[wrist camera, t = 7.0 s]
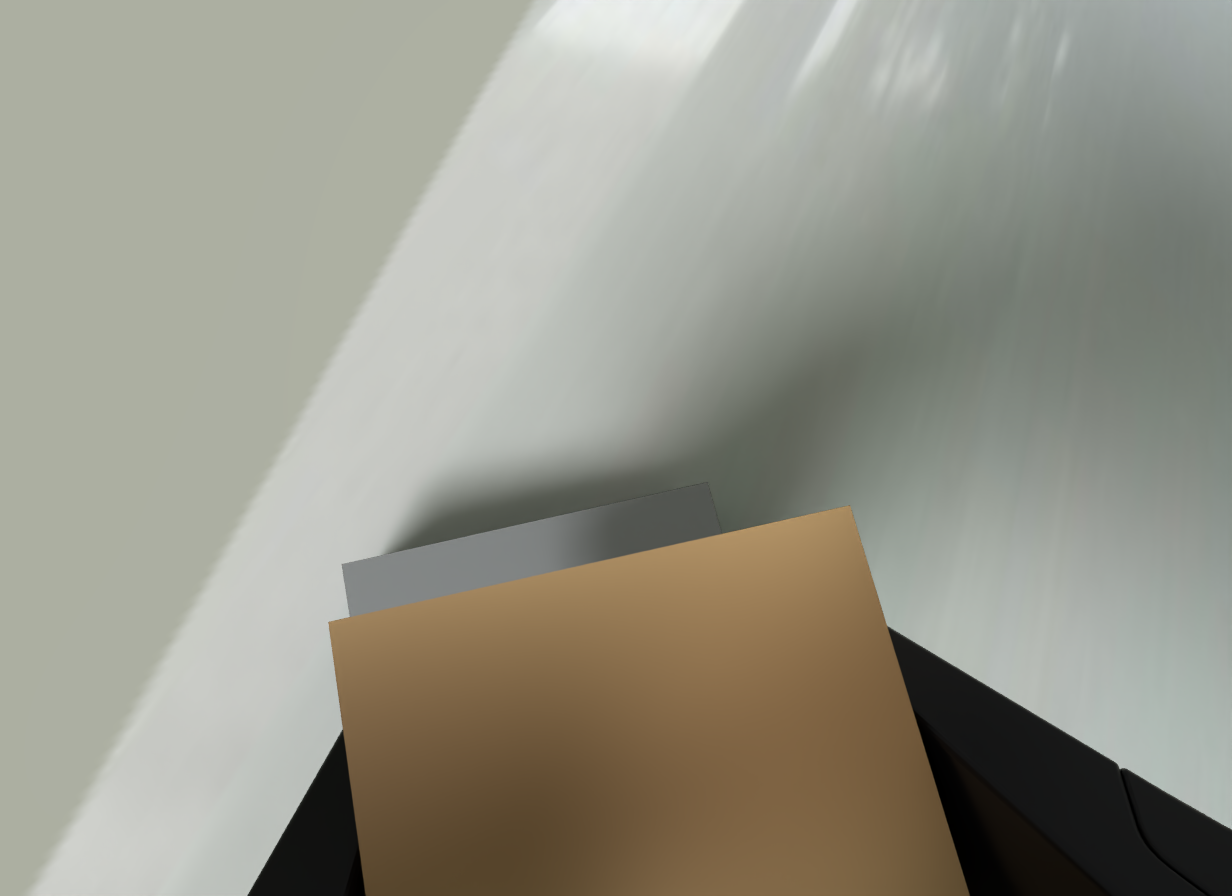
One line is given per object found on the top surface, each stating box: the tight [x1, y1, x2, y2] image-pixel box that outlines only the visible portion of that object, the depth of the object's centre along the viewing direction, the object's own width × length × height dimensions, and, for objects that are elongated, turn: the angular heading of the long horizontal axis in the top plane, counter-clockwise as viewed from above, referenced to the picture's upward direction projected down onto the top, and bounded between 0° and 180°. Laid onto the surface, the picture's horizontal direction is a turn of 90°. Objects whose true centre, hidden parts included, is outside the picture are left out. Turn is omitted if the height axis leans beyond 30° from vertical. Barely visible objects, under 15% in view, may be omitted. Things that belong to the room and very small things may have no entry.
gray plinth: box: [342, 482, 722, 617], centre depth 20 cm, size 10×10×3 cm
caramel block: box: [328, 505, 970, 896], centre depth 11 cm, size 5×5×9 cm
